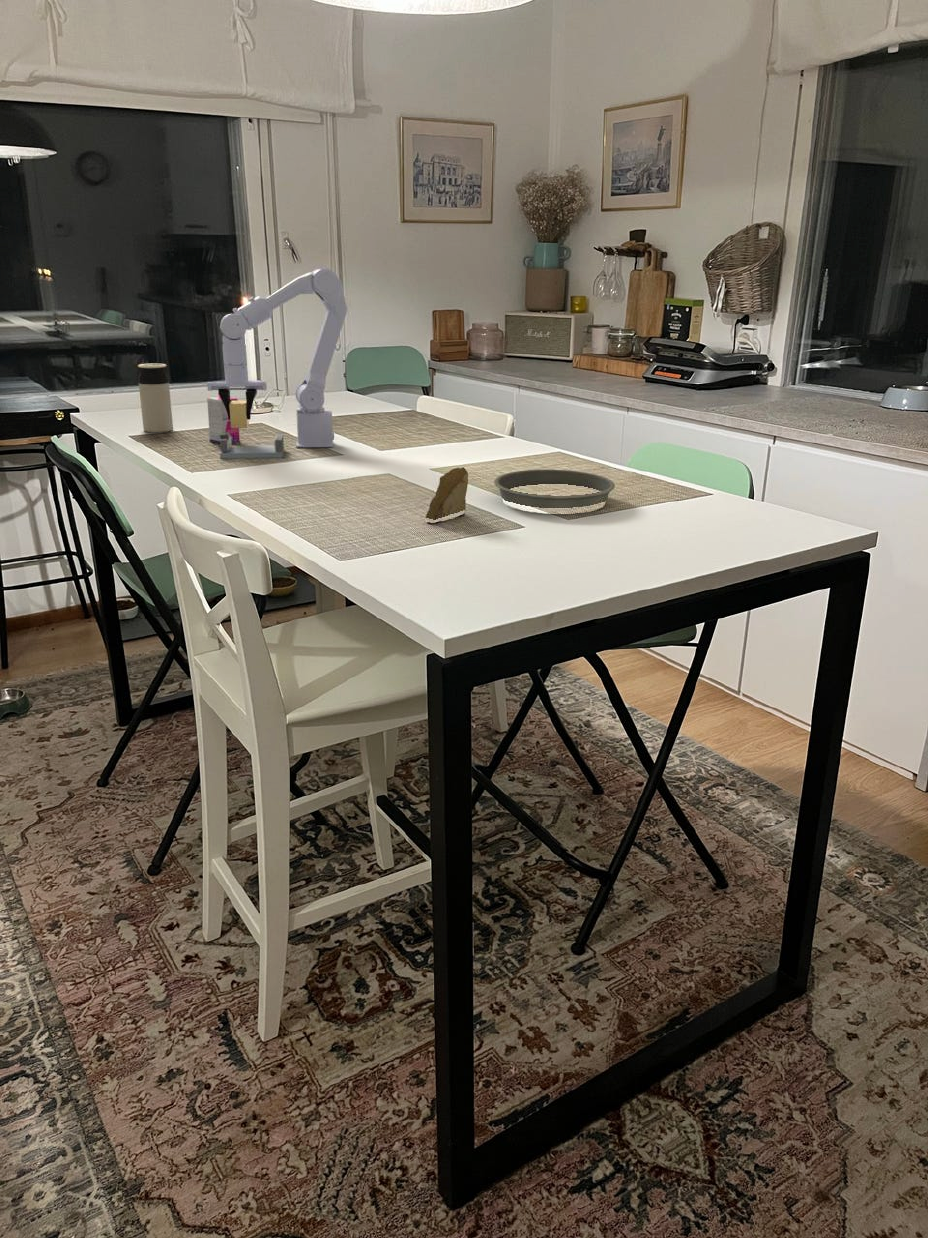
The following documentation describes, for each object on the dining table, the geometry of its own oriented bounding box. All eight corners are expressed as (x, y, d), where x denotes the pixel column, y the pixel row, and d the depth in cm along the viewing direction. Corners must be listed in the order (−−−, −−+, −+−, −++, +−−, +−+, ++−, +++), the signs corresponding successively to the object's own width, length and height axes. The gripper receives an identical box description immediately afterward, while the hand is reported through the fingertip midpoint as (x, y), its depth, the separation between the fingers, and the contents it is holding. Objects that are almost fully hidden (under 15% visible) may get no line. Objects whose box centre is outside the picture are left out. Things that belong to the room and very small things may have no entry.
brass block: (248, 423, 248) (247, 400, 246) (247, 427, 242) (245, 403, 240) (233, 424, 247) (231, 400, 245) (231, 428, 242) (229, 404, 240)
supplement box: (223, 444, 251) (220, 399, 247) (209, 441, 254) (205, 397, 250) (240, 441, 255) (237, 397, 251) (226, 438, 259) (223, 395, 255)
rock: (434, 517, 175) (482, 504, 179) (417, 475, 177) (465, 464, 180) (419, 539, 185) (464, 526, 189) (403, 499, 186) (449, 487, 190)
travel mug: (179, 430, 270) (173, 364, 264) (157, 433, 264) (150, 366, 257) (160, 427, 274) (153, 362, 268) (137, 430, 268) (130, 364, 261)
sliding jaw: (231, 444, 242) (230, 430, 241) (228, 451, 234) (227, 436, 233) (223, 444, 242) (222, 430, 241) (219, 451, 234) (218, 437, 232)
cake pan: (474, 494, 203) (475, 473, 201) (575, 485, 212) (577, 465, 211) (526, 522, 182) (527, 499, 180) (636, 511, 191) (638, 489, 190)
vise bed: (284, 449, 245) (283, 433, 244) (282, 457, 236) (281, 440, 234) (224, 450, 243) (222, 433, 242) (220, 458, 234) (218, 441, 232)
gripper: (204, 366, 235) (208, 421, 240) (264, 365, 237) (267, 421, 241) (207, 362, 241) (211, 417, 246) (265, 362, 243) (269, 416, 248)
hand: (239, 418), depth 244 cm, fingers closed on brass block, 4 cm apart
